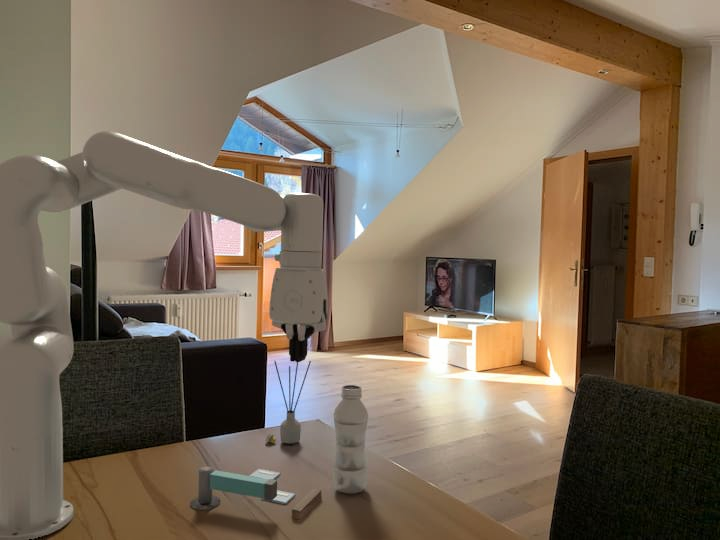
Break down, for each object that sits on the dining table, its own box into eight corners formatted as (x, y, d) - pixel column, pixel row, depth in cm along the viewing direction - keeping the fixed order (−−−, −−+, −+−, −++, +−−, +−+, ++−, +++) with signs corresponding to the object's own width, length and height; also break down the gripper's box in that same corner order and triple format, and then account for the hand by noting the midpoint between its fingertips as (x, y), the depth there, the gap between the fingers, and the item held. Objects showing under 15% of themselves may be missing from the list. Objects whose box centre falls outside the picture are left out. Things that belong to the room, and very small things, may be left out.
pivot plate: (184, 506, 97) (184, 505, 97) (202, 494, 102) (202, 493, 102) (208, 512, 95) (208, 511, 95) (226, 499, 100) (226, 498, 100)
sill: (291, 517, 94) (292, 509, 94) (313, 496, 102) (313, 488, 102) (300, 519, 93) (300, 511, 93) (321, 498, 101) (321, 490, 101)
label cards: (229, 492, 103) (229, 489, 103) (258, 470, 113) (258, 468, 113) (285, 504, 99) (285, 501, 99) (311, 480, 108) (311, 478, 108)
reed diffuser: (308, 438, 132) (310, 356, 130) (310, 449, 125) (311, 362, 124) (265, 439, 130) (266, 356, 129) (264, 451, 123) (266, 363, 122)
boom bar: (195, 502, 98) (195, 471, 97) (203, 496, 100) (203, 465, 100) (270, 516, 93) (271, 484, 93) (277, 510, 95) (277, 478, 95)
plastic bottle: (363, 500, 101) (366, 393, 100) (328, 496, 102) (330, 390, 101) (370, 485, 107) (372, 384, 106) (336, 481, 109) (338, 381, 107)
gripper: (254, 259, 99) (252, 359, 100) (330, 263, 94) (326, 369, 95) (275, 259, 106) (272, 352, 107) (346, 262, 101) (342, 361, 102)
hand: (297, 360), depth 101 cm, fingers closed
